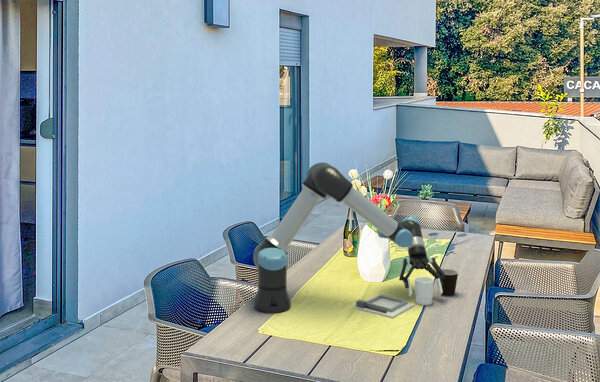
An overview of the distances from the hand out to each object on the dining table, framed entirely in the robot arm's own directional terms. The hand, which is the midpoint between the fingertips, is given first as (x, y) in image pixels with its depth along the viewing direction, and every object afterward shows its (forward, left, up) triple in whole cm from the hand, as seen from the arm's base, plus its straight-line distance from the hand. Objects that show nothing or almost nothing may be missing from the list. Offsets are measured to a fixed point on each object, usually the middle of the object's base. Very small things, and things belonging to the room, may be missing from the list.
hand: (425, 294), depth 261 cm
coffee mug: (0, +20, -5) cm, 20 cm away
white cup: (-2, +2, -5) cm, 5 cm away
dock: (-12, -12, -4) cm, 18 cm away
